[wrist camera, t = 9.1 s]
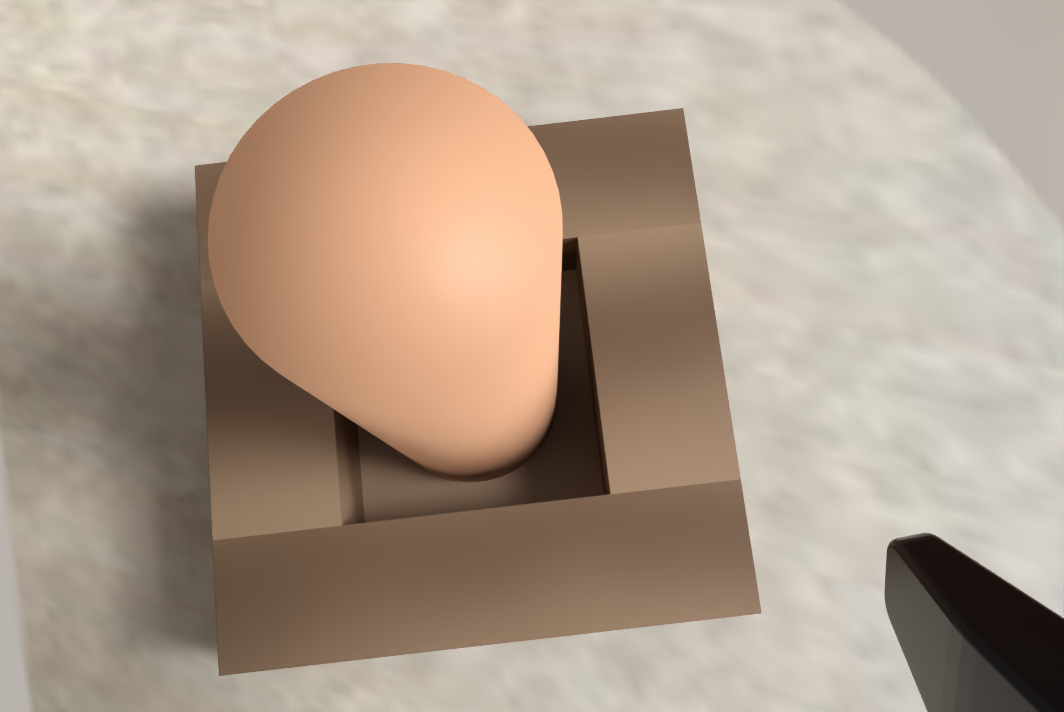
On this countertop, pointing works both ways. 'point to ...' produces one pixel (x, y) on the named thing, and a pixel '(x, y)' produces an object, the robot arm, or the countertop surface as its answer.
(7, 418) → the countertop surface
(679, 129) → the socket block
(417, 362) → the peg
